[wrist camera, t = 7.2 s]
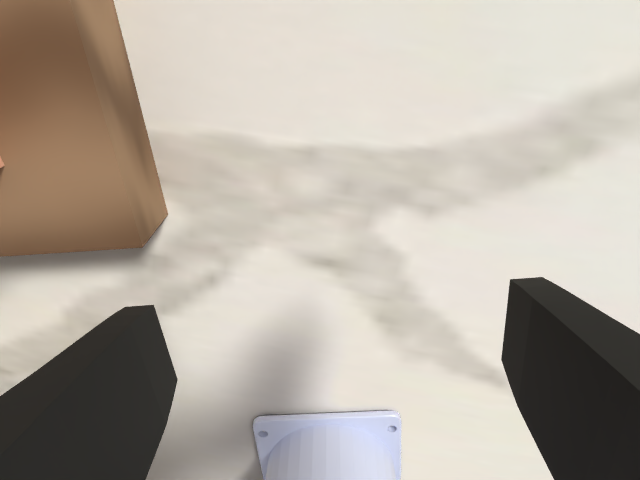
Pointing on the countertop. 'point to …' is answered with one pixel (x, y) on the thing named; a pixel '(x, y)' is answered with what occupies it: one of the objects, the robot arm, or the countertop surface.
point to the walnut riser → (71, 133)
